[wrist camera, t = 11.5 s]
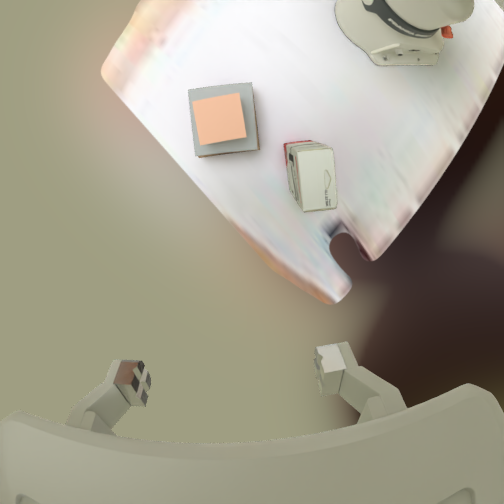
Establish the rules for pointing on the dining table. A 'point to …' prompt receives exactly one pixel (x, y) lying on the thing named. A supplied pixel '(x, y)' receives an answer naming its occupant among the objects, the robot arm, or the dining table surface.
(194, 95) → the slate block
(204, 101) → the terracotta block
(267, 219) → the dining table surface
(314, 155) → the ink box
